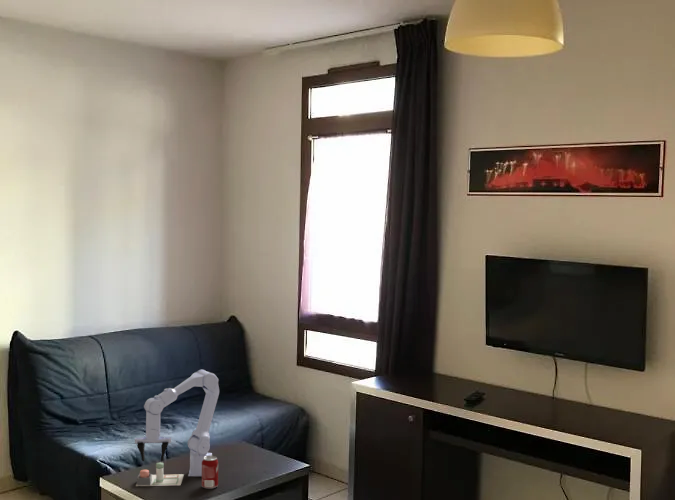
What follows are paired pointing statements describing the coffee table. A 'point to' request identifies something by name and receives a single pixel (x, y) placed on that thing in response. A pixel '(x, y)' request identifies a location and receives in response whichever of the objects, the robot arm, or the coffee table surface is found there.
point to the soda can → (210, 472)
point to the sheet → (167, 480)
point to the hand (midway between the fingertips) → (152, 460)
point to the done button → (144, 473)
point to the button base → (144, 480)
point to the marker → (159, 472)
